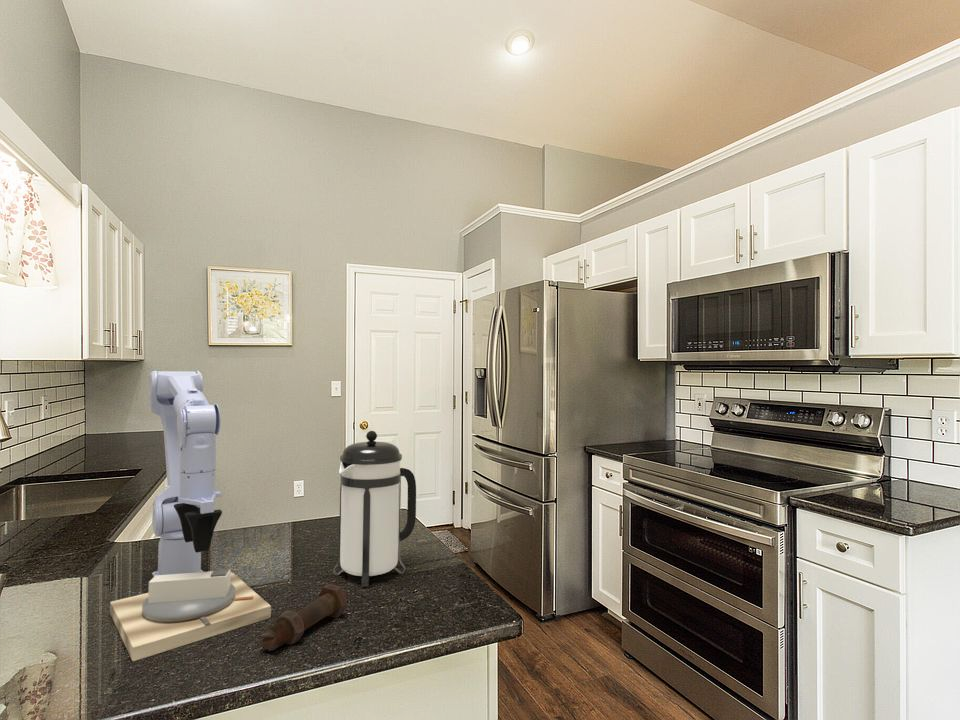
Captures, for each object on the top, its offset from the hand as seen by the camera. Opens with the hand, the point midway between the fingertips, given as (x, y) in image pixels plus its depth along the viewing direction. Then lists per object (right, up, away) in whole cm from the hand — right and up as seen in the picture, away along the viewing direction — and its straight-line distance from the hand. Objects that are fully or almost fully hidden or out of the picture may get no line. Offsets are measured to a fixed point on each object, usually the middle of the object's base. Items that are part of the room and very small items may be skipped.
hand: (196, 545), depth 94 cm
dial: (+2, -8, -5) cm, 9 cm away
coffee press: (+29, -11, +16) cm, 35 cm away
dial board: (+1, -10, -5) cm, 11 cm away
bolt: (+23, -11, -10) cm, 27 cm away
